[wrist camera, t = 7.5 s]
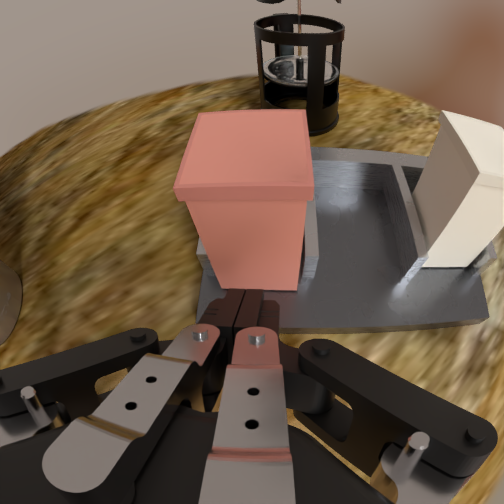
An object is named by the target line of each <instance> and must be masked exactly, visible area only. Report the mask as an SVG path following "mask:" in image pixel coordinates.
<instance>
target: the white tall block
mask: <svg viewBox="0 0 504 504" xmlns="http://www.w3.org/2000/svg"><path fill="white" fill-rule="evenodd" d="M438 121H439V122H440V124H441V127H440V129H439V132H438V135H437V137H436V140H435V142H434V145H433V147H432V150H431V152H430V155H429V157H428V160H427V162H426V164H425V167H424V169H423V171H422V174H421V176H420V178H419V181H418V183H417V185H416V187H415V189H414V191H413V194H412V199H413V202H414V205H415V209H416V212H417V215H418V219H419V222H420V225H421V229H422V233H423V236H424V240H425V244H426V248H427V252H428V256H429V258H428V259H427V261H426V262H425V263H424V264H423V266H422V267H467V266H468V265H469V264H470V263H471V262H472V261H473V260H474V259H475V258H476V257H477V256H478V255H479V254H480V253H481V251H482V250H483V249H484V248H485V247H486V246H487V245H488V244H489V243H490V241H491V240H492V239H493V238H494V237H495V236H496V235H497V233H498V232H499V231H500V230H501V229H502V227H503V226H504V130H503V128H502V127H500V126H497V125H494V124H491V123H487V122H485V121H481V120H478V119H474V118H471V117H467V116H463V115H460V114H455V113H451V112H447V111H443V110H442V111H441V114H440V117H439V120H438Z"/></svg>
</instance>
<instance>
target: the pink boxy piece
mask: <svg viewBox="0 0 504 504" xmlns="http://www.w3.org/2000/svg"><path fill="white" fill-rule="evenodd" d="M173 190H174V192H175V195H176V197H177V199H178V201H185V202H186V204H187V207H188V209H189V212H190V214H191V217H192V219H193V222H194V224H195V227H196V229H197V231H198V234H199V236H200V239H201V241H202V244H203V246H204V248H205V251H206V253H207V256H208V258H209V260H210V263H211V265H212V267H213V270H214V272H215V274H216V277H217V279H218V281H219V284H220V286H221V288H223V289H229V288H238V289H264V290H297V285H298V277H299V269H300V261H301V253H302V244H303V235H304V226H305V217H306V207H307V201H313V195H314V177H313V167H312V158H311V149H310V140H309V132H308V124H307V117H306V110H301V109H261V110H235V111H219V112H206V113H199V114H198V117H197V120H196V122H195V125H194V128H193V130H192V133H191V136H190V139H189V142H188V144H187V147H186V150H185V153H184V156H183V159H182V162H181V165H180V168H179V171H178V174H177V177H176V180H175V184H174V187H173Z"/></svg>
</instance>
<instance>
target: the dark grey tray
mask: <svg viewBox="0 0 504 504" xmlns="http://www.w3.org/2000/svg"><path fill="white" fill-rule="evenodd" d="M310 149H311V158H312V167H313V177H314V195H313V201H307V207H306V217H305V226H304V235H303V244H302V253H301V261H300V269H299V277H298V285H297V290H264V300H275V301H276V302H277V303H278V304H279V305H280V317H279V333H282V334H347V333H377V332H396V331H411V330H424V329H436V328H446V327H456V326H464V325H473V324H480V323H481V322H483V321H484V320H486V319H488V318H489V313H488V307H487V302H486V298H485V293H484V289H483V284H482V280H481V276H480V275H481V274H482V273H483V272H484V271H485V270H486V269H487V268H488V267H489V266H490V265H491V264H492V263H493V262H494V261H495V260H496V259H497V256H496V252H495V249H494V246H493V243H492V240H491V241H490V243H489V244H488V245H487V246H486V247H485V248H484V249H483V250H482V251H481V253H480V254H479V255H478V256H477V257H476V258H475V259H474V260H473V261H472V262H471V263H470V264H469V265H468V266H467V267H422V266H423V264H424V263H425V262H426V261H427V259H428V258H429V256H428V252H427V248H426V244H425V240H424V236H423V233H422V229H421V225H420V222H419V219H418V215H417V212H416V209H415V205H414V202H413V199H412V194H413V191H414V189H415V187H416V185H417V183H418V181H419V178H420V176H421V174H422V171H423V169H424V167H425V164H426V162H427V160H428V157H425V156H418V155H410V154H402V153H393V152H383V151H373V150H360V149H345V148H326V147H310ZM196 255H197V257H198V259H199V261H200V263H201V265H202V267H203V275H202V282H201V288H200V295H199V302H198V309H197V316H196V324H197V323H198V322H199V320H200V318H201V316H202V315H203V314H204V311H205V310H206V308H207V306H208V305H209V303H210V302H212V301H213V300H215V299H217V298H221V299H224V298H225V296H226V294H227V292H228V289H223V288H221V286H220V284H219V281H218V279H217V277H216V274H215V272H214V270H213V267H212V265H211V263H210V260H209V258H208V256H207V253H206V251H205V248H204V246H203V244H202V241H201V239H200V236H199V241H198V247H197V252H196ZM246 290H247V289H246Z"/></svg>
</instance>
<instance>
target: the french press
mask: <svg viewBox="0 0 504 504" xmlns="http://www.w3.org/2000/svg"><path fill="white" fill-rule="evenodd" d="M257 1H259V2H262V3H269V4H274V3H280V2H282V1H284V0H257ZM336 1H337V3H341V0H336ZM297 13H298V14H288V13H280V14H273V16H268V17H264V18H261V19H258V20H257V21H255V22H254V30H255V41H256V52H257V63H258V75H259V86H260V98H261V109H288V108H283V107H280V106H276V105H275V104H277V103H279V102H281V101H284V100H288V99H306V100H307V107H306V117H307V124H308V132H309V136H317V135H321V134H324V133H327V132H329V131H330V130H332V129H333V128H334V127H335V126H336V125H337V123H338V119H339V114H338V102H339V93H338V85H339V74H340V62H341V49H342V41H343V40H344V31H345V27H344V25H343V24H341V23H340V22H337V21H335V20H332V19H329V18H325V17H320V16H313V15H304V14H301V0H297ZM293 24H298V33H293ZM301 24H305V25H314V26H319V27H324V28H327V29H330V30H333V32H330V33H301ZM270 26H274V31H272V30H267V29H264V28H266V27H270ZM261 40H263V41H266V42H269V43H275V58H273V59H270V60H268V61H266V62H265V63H263V58H262V45H261ZM327 45H333V52H332V63H330V62H328V61H326V46H327ZM294 46H298V55H294ZM301 46H308V56H302V54H301ZM264 78H265V79H266V80H268V82H267V83H264ZM323 107H324V108H323ZM261 109H260V110H261Z"/></svg>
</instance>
